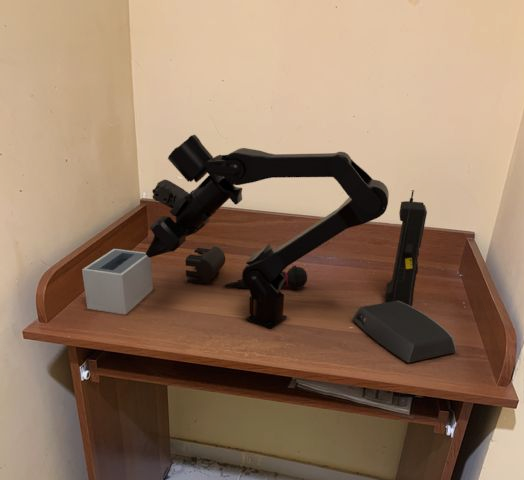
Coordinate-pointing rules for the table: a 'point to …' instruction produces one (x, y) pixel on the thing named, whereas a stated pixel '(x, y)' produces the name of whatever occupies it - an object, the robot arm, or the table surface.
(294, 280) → the microphone
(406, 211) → the portable radio
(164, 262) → the table surface
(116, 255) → the grey hollow block
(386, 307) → the hard drive
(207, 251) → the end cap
